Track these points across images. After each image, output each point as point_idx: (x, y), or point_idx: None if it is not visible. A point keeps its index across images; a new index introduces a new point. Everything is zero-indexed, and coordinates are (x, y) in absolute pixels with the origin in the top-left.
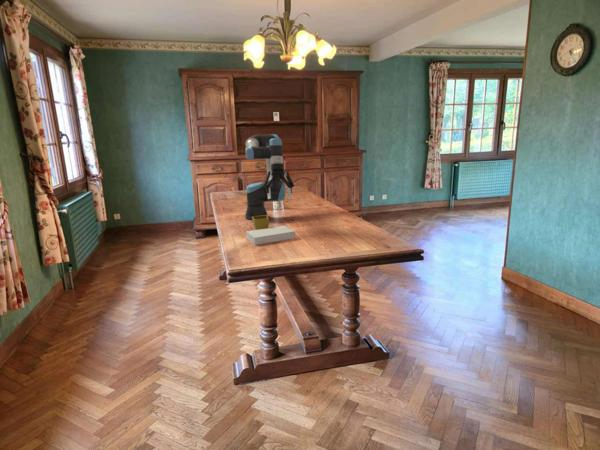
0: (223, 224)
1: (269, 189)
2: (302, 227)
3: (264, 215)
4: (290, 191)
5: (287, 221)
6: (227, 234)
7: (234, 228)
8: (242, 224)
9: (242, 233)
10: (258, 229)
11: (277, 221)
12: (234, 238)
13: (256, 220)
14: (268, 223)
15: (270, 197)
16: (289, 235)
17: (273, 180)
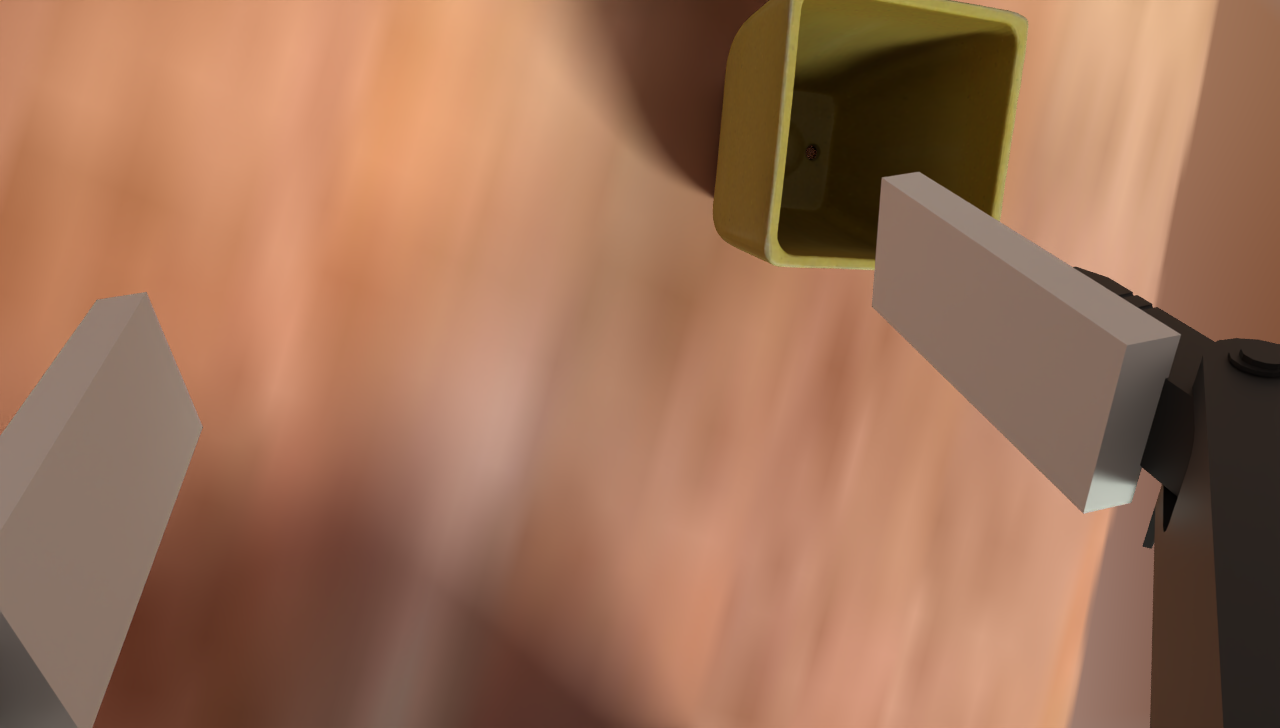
0: (1061, 664)
1: (1102, 300)
2: (62, 91)
3: (797, 256)
4: (3, 448)
5: (240, 580)
6: (1137, 217)
7: (1010, 449)
8: (886, 603)
9: None
10: (865, 57)
11: (405, 625)
12: (1124, 3)
13: (989, 12)
14: (761, 8)
15: (910, 183)
16: None
17: (1224, 701)
